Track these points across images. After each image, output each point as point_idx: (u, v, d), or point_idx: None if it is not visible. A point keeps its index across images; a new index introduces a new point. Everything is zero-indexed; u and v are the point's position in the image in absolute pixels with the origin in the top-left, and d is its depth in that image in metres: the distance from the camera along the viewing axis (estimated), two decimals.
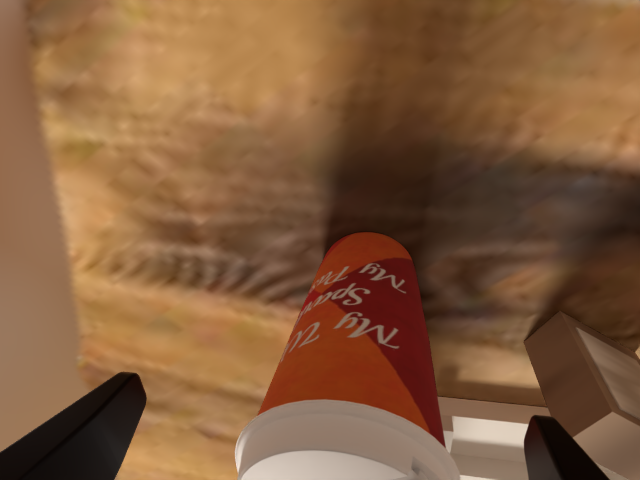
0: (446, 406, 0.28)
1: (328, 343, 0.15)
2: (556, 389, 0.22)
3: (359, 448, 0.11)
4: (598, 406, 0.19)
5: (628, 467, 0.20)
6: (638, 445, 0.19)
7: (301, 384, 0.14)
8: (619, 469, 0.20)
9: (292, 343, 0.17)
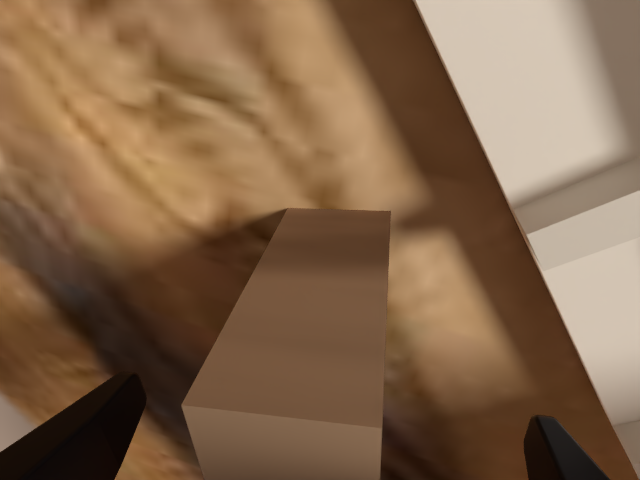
0: (605, 411, 0.13)
1: None
2: None
3: None
4: None
5: None
6: None
7: None
8: None
9: None
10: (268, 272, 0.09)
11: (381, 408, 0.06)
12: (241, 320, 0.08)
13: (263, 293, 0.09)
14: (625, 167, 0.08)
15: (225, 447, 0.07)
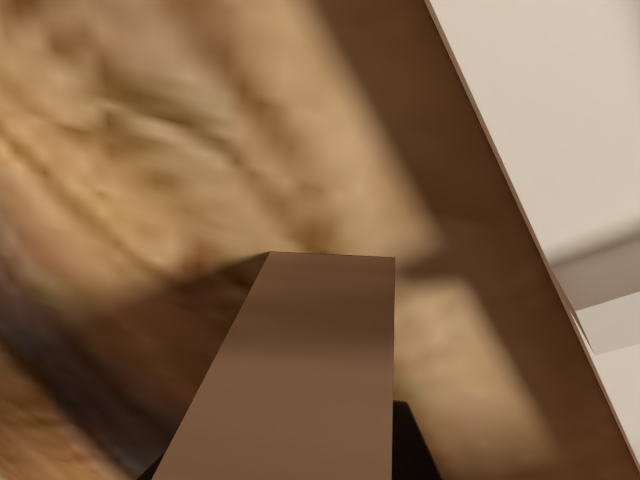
0: None
1: None
2: None
3: None
4: None
5: None
6: None
7: None
8: None
9: None
10: (237, 353, 0.07)
11: None
12: (192, 438, 0.06)
13: (227, 389, 0.06)
14: None
15: None
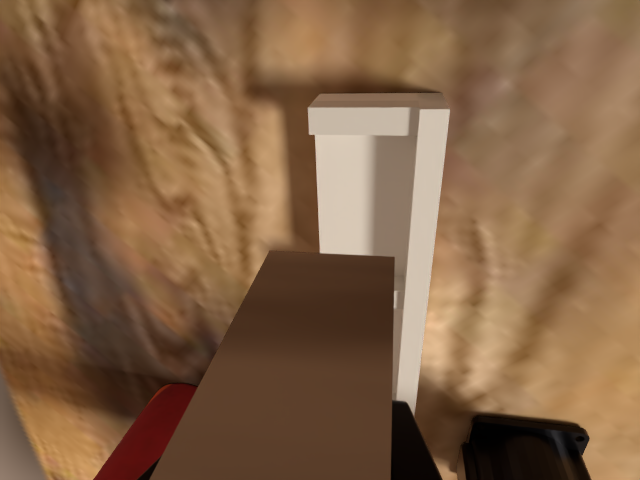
0: None
1: None
2: None
3: None
4: None
5: None
6: None
7: None
8: None
9: None
10: (236, 352, 0.07)
11: None
12: (191, 437, 0.06)
13: (226, 388, 0.06)
14: None
15: None
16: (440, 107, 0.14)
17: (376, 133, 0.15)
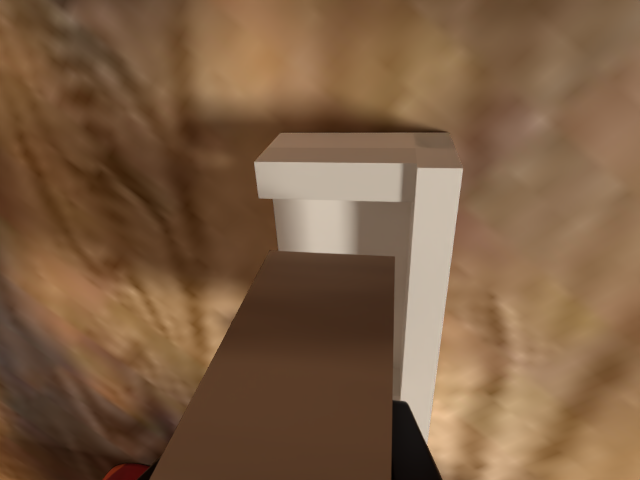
0: None
1: None
2: None
3: None
4: None
5: None
6: None
7: None
8: None
9: None
10: (236, 352, 0.07)
11: None
12: (191, 437, 0.06)
13: (226, 388, 0.06)
14: None
15: None
16: (448, 163, 0.10)
17: (354, 198, 0.10)
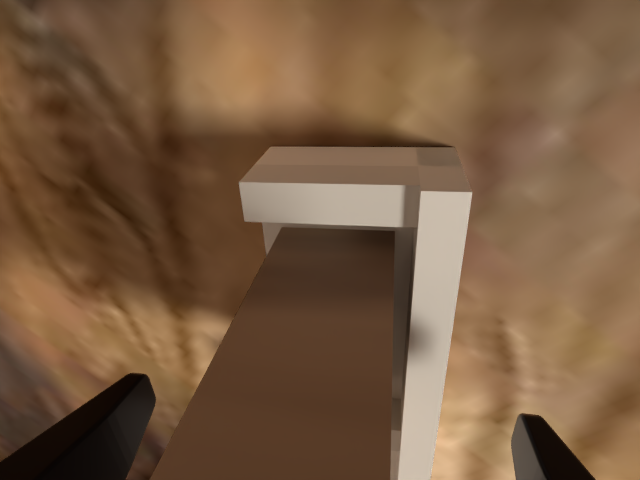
0: None
1: None
2: None
3: None
4: None
5: None
6: None
7: None
8: None
9: None
10: (257, 307, 0.08)
11: None
12: (224, 369, 0.07)
13: (250, 334, 0.07)
14: None
15: None
16: (455, 186, 0.09)
17: (350, 222, 0.09)
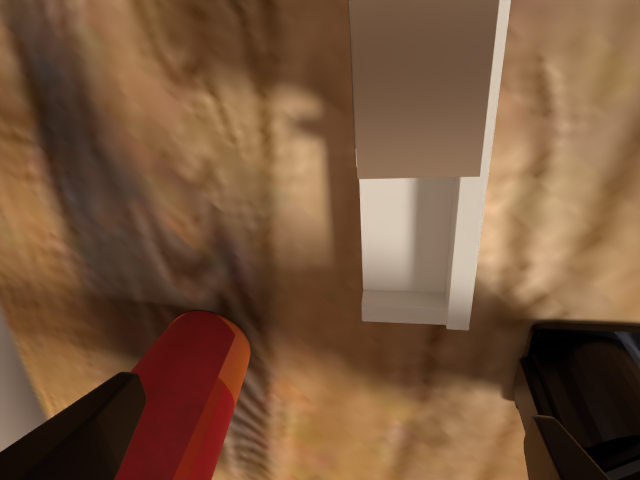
0: None
1: None
2: None
3: None
4: None
5: (463, 27, 0.09)
6: (395, 76, 0.09)
7: None
8: (481, 35, 0.09)
9: None
10: None
11: None
12: None
13: None
14: None
15: None
16: None
17: None
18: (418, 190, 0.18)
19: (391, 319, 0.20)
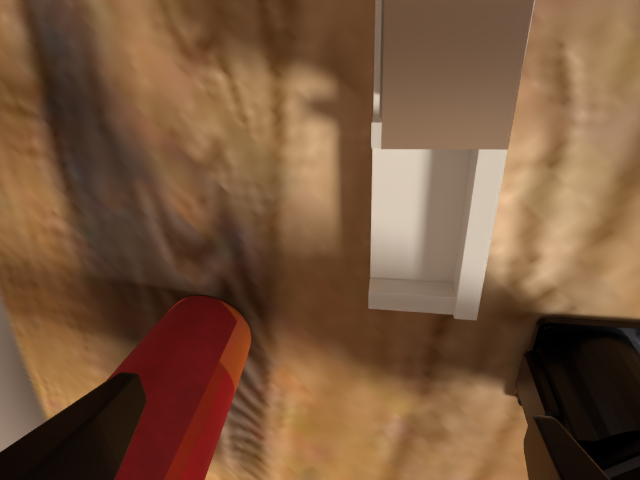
0: None
1: None
2: None
3: None
4: None
5: None
6: (427, 39, 0.09)
7: None
8: None
9: None
10: None
11: None
12: None
13: None
14: None
15: None
16: None
17: None
18: (431, 175, 0.18)
19: (398, 307, 0.20)
